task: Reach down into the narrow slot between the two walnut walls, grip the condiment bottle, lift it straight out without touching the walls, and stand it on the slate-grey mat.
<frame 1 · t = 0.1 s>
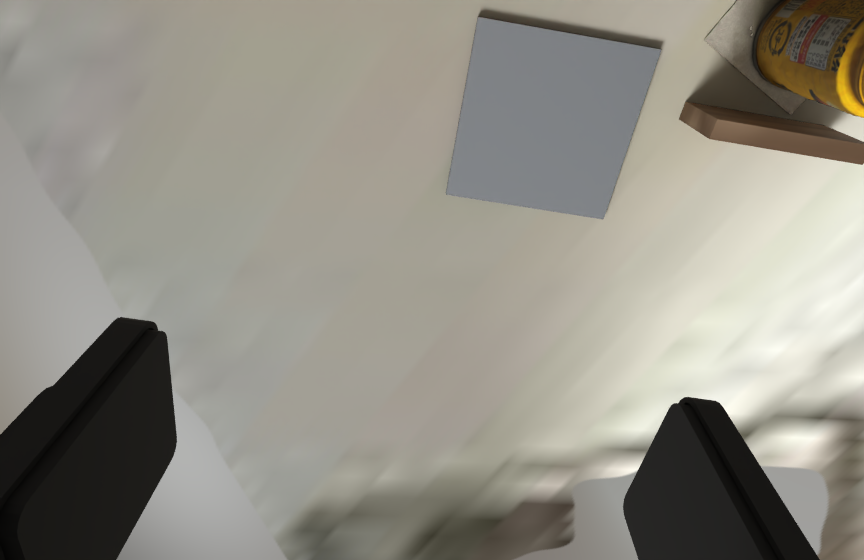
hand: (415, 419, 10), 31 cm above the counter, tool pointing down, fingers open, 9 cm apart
slot walls: (793, 28, 35), on the counter
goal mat: (545, 125, 38), on the counter
condiment: (790, 28, 35), on the counter
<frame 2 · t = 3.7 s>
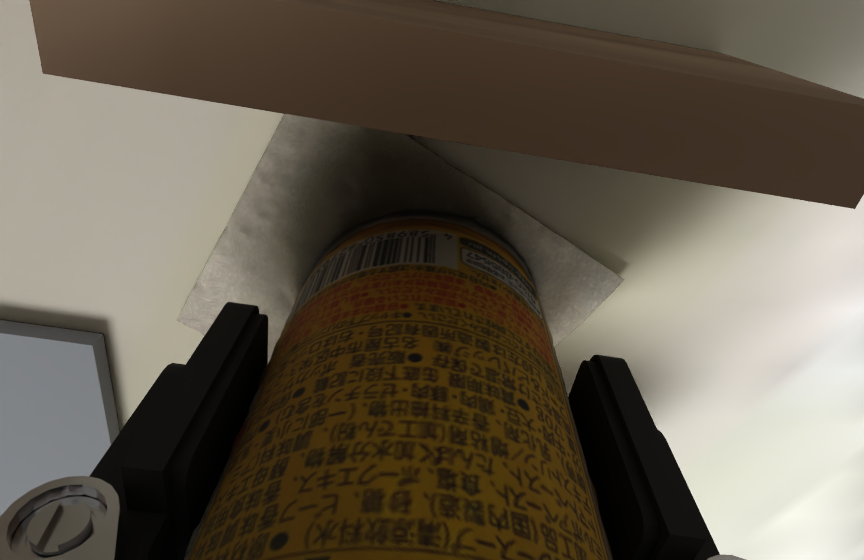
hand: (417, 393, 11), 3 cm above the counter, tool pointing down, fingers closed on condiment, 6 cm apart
slot walls: (418, 298, 14), on the counter
condiment: (394, 291, 14), on the counter, touching gripper
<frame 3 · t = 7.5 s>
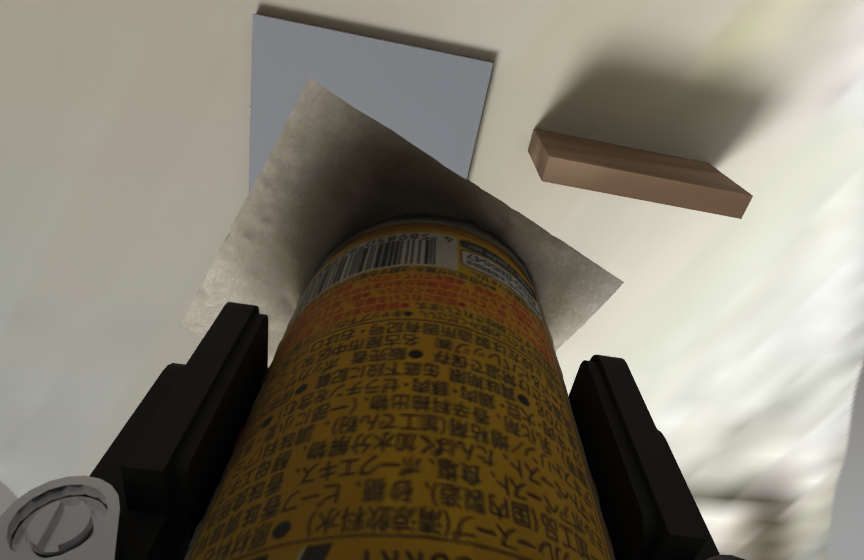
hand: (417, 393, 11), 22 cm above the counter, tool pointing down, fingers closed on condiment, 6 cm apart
slot walls: (660, 41, 27), on the counter
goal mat: (361, 153, 30), on the counter
condiment: (395, 296, 14), point 18 cm above the counter, touching gripper
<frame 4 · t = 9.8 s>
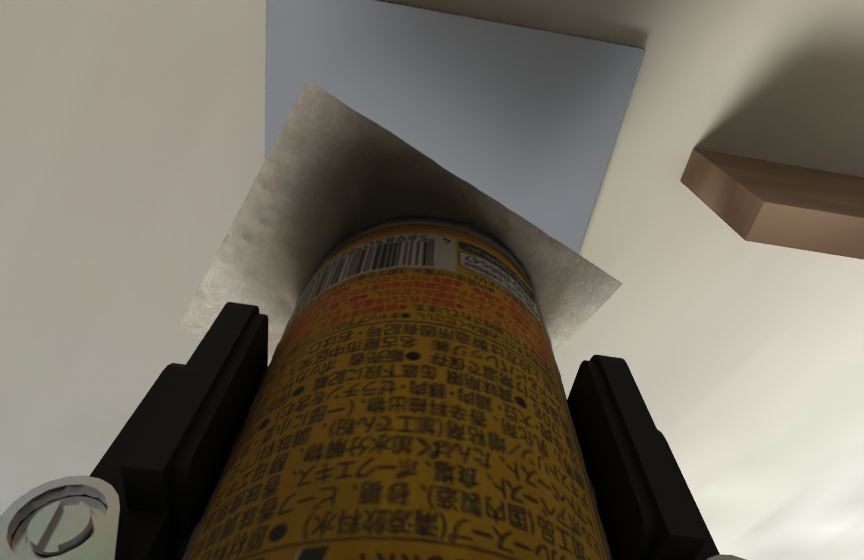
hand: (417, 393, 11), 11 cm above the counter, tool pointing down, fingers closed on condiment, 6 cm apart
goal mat: (430, 190, 20), on the counter
condiment: (394, 297, 14), point 8 cm above the counter, touching gripper
when the fingers open (5 cm above the counter, at t = 11.5 s): condiment stays where it is, resting on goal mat.
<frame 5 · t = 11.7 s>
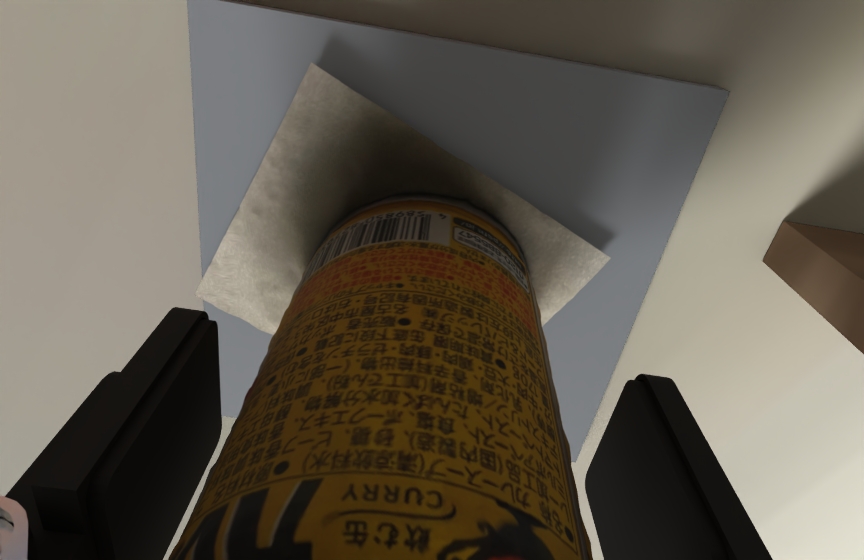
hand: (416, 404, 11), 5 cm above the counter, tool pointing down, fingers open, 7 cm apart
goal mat: (425, 271, 15), on the counter
condiment: (395, 269, 15), resting on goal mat
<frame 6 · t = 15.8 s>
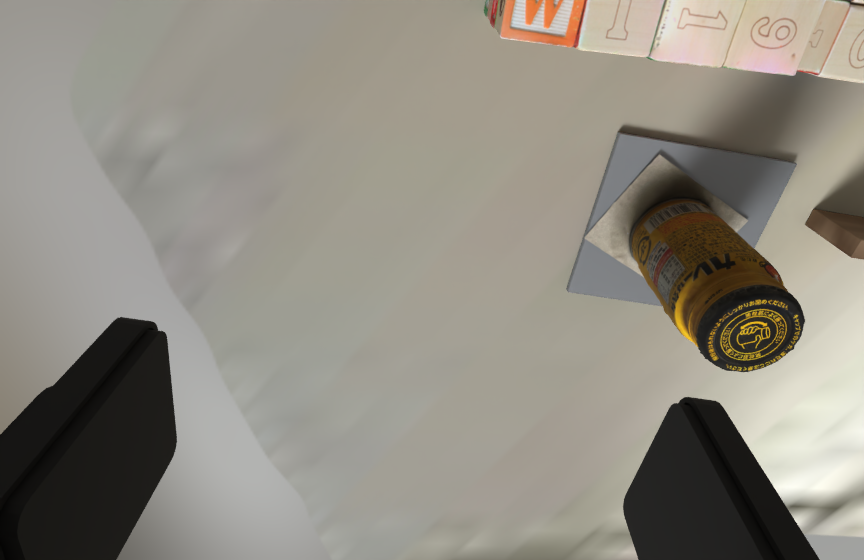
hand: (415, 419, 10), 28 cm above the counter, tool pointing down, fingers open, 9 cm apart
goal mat: (672, 229, 39), on the counter
condiment: (663, 227, 39), resting on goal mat
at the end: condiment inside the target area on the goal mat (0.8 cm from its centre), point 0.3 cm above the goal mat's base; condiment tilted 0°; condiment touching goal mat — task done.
